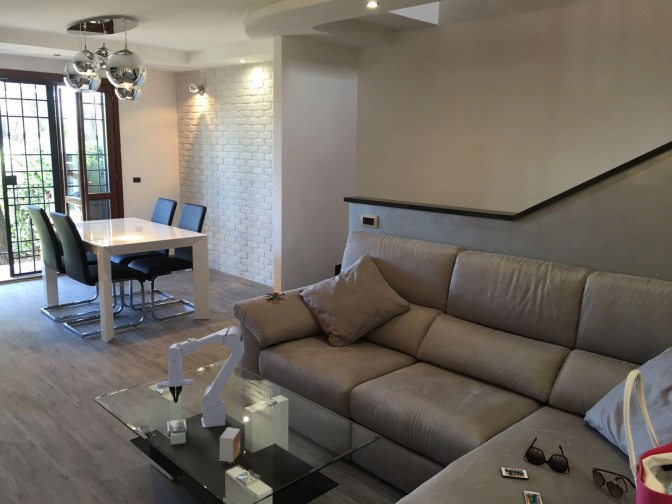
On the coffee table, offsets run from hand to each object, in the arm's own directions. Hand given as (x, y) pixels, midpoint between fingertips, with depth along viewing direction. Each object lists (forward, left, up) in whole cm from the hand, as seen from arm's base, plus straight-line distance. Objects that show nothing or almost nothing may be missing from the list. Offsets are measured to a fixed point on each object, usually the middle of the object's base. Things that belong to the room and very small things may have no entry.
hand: (175, 401), depth 240 cm
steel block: (0, +13, -10) cm, 16 cm away
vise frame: (0, +10, -9) cm, 13 cm away
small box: (-19, +32, -10) cm, 38 cm away
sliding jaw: (0, +8, -9) cm, 12 cm away
